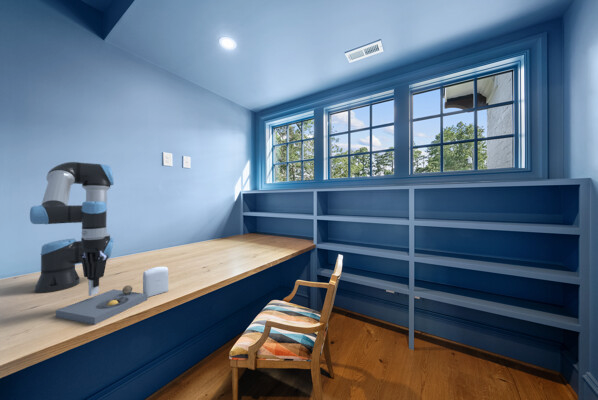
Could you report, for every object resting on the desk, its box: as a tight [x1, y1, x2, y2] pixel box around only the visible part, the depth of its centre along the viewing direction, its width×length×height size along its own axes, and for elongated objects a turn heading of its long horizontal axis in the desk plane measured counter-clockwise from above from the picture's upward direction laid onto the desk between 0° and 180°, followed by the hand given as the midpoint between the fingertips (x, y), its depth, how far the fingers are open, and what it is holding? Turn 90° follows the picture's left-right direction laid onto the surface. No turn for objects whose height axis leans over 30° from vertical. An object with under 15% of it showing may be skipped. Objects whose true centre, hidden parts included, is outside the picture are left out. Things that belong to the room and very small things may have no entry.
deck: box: [55, 289, 149, 326], centre depth 88 cm, size 20×20×2 cm
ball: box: [107, 300, 118, 306], centre depth 87 cm, size 4×4×4 cm
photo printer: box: [142, 266, 169, 298], centre depth 102 cm, size 10×4×12 cm, turn 140°
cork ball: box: [122, 285, 133, 294], centre depth 96 cm, size 4×4×4 cm
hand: (93, 294), depth 91 cm, fingers closed
